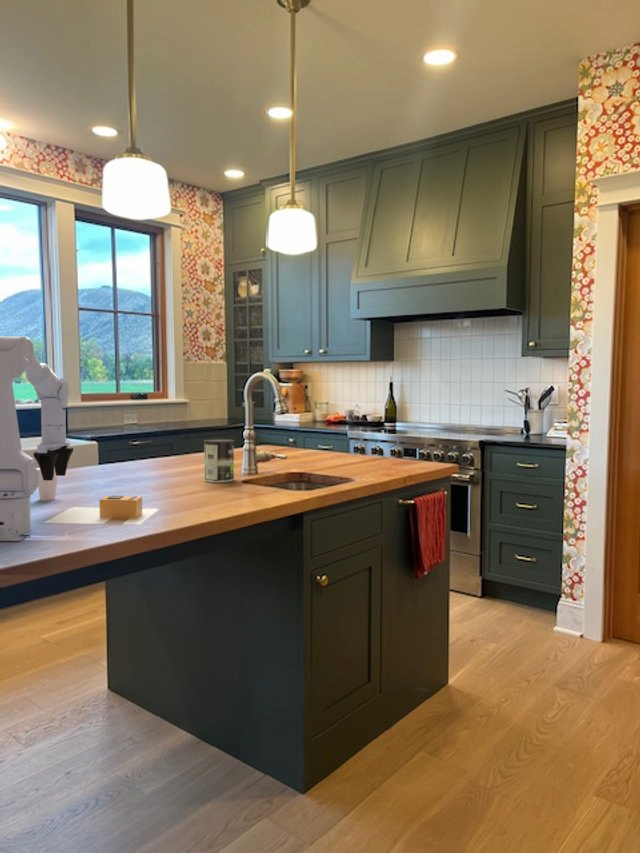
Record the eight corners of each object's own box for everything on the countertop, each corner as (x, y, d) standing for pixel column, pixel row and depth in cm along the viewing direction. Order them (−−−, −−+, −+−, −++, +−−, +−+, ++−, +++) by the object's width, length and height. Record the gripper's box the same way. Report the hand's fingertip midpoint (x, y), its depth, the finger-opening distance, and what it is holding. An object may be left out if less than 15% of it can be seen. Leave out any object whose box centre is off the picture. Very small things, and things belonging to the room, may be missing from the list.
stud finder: (136, 518, 154) (136, 499, 154) (99, 517, 154) (99, 498, 154) (142, 513, 159) (142, 495, 159) (106, 513, 159) (106, 494, 159)
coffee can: (236, 478, 224) (236, 439, 223) (231, 483, 213) (231, 441, 212) (207, 477, 224) (207, 438, 223) (201, 482, 214) (201, 441, 213)
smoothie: (63, 500, 179) (62, 451, 178) (54, 505, 173) (54, 454, 172) (40, 500, 179) (39, 451, 178) (31, 504, 173) (30, 454, 172)
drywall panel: (139, 528, 148) (139, 524, 148) (42, 527, 148) (42, 522, 148) (159, 512, 166) (159, 508, 166) (72, 510, 166) (72, 507, 166)
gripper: (57, 427, 153) (58, 482, 154) (80, 423, 167) (80, 473, 168) (28, 427, 153) (29, 482, 154) (53, 422, 167) (54, 473, 168)
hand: (54, 477), depth 161 cm, fingers open, 7 cm apart
